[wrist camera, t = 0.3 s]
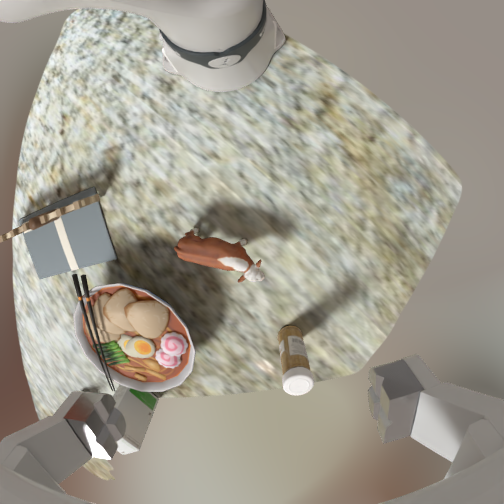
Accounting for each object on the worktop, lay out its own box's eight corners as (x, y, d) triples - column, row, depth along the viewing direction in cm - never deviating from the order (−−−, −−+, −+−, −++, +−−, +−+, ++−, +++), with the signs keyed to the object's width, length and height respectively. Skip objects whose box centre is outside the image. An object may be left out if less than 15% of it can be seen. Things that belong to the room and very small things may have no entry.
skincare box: (159, 398, 58) (142, 451, 44) (142, 406, 60) (124, 456, 45) (132, 375, 56) (108, 427, 42) (116, 385, 58) (92, 433, 43)
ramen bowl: (206, 377, 56) (200, 406, 48) (105, 363, 56) (90, 387, 48) (199, 262, 48) (189, 283, 40) (80, 256, 48) (56, 273, 40)
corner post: (51, 210, 45) (27, 220, 38) (59, 207, 44) (34, 216, 37) (54, 220, 45) (30, 231, 38) (62, 217, 45) (37, 228, 38)
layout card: (19, 219, 45) (18, 220, 45) (94, 186, 43) (93, 186, 43) (40, 278, 49) (39, 279, 49) (117, 258, 47) (116, 259, 47)
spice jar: (272, 335, 52) (276, 387, 39) (290, 320, 51) (300, 370, 38) (289, 348, 53) (297, 400, 40) (307, 334, 52) (320, 384, 39)
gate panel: (62, 214, 44) (41, 224, 38) (61, 208, 44) (39, 217, 38) (100, 200, 43) (79, 208, 37) (98, 193, 43) (77, 200, 37)
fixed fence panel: (22, 232, 46) (0, 242, 39) (20, 226, 45) (-2, 236, 39) (50, 220, 45) (27, 230, 38) (48, 214, 45) (25, 223, 38)
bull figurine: (261, 269, 48) (262, 292, 40) (181, 244, 47) (167, 263, 39) (270, 245, 46) (272, 264, 39) (187, 219, 45) (174, 233, 38)
